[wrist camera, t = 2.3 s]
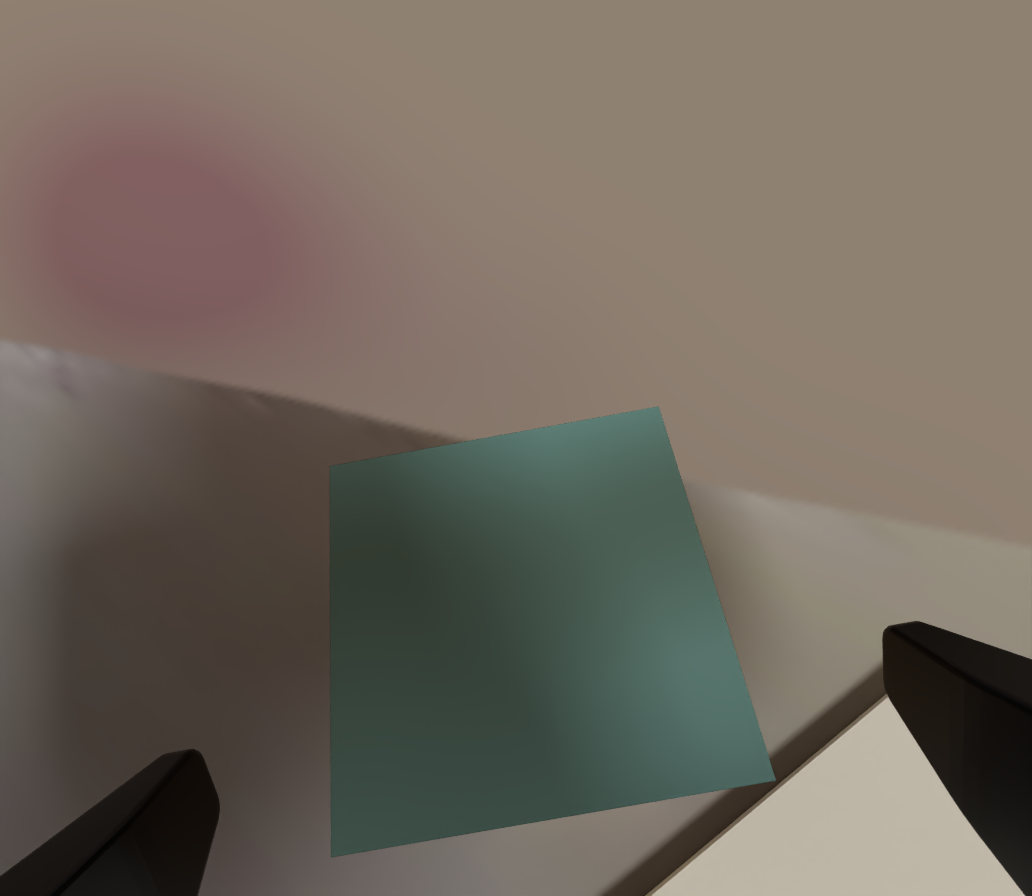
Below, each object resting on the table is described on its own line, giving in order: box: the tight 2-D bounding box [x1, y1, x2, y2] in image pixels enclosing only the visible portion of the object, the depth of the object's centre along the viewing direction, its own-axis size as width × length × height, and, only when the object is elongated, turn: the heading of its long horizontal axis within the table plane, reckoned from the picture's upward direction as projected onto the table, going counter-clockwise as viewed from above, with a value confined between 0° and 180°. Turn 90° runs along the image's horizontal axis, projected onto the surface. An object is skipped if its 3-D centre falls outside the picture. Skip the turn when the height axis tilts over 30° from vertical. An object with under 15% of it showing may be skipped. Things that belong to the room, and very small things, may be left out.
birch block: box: [330, 407, 776, 857], centre depth 11 cm, size 4×4×11 cm
